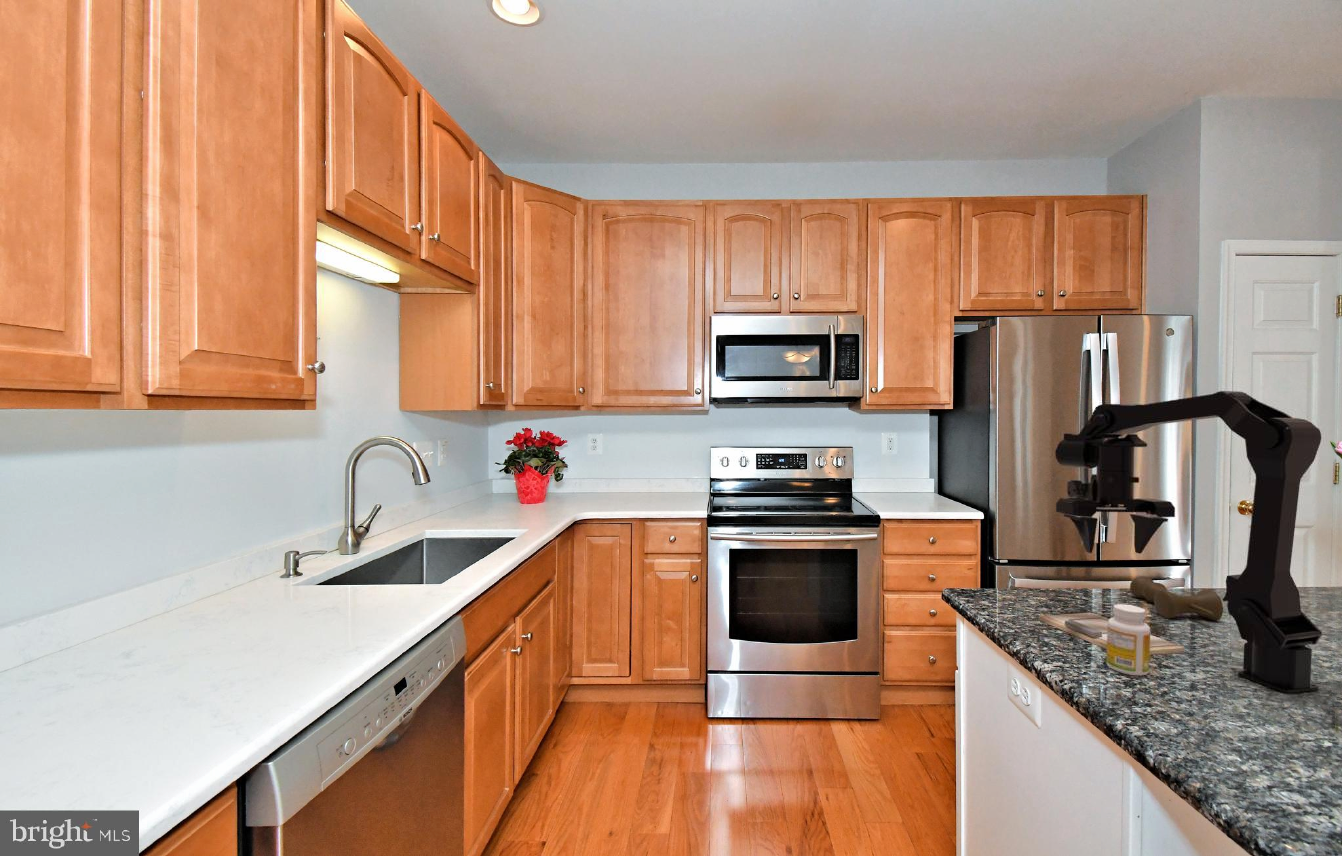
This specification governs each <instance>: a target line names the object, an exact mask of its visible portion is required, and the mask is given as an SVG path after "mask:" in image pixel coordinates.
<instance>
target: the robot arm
mask: <svg viewBox="0 0 1342 856" xmlns="http://www.w3.org/2000/svg"><path fill="white" fill-rule="evenodd" d="M1090 416H1091V417H1090V418H1089V420H1088V421H1087V422H1086V424H1085V425H1084V426H1083V428H1082V429H1081V431H1080V432H1079V433H1073V432H1072V433H1069V432H1068V433H1063V439H1062V440H1061V441H1059V443H1058V444H1057V447H1056V449H1055V453H1054V454H1055V458H1056V461H1057V463H1058V464H1059V465H1061V467H1069V468H1070V467H1071V468H1081V469H1082V468H1084V469H1095V468H1096V473H1095V474H1093V473H1092V474H1091V476H1090V482H1088V483H1087V482H1086V483H1085V482H1084V483H1083V482H1082V480H1081V479H1080V480H1079V479H1078V480H1077V479H1076V480H1074V479H1073V480H1069V481H1067V486H1066V492H1067V496H1068V497H1060V498H1059V499H1058V500H1057V502H1056V504H1055V505H1056V506H1055V509H1056V510H1055V512H1056V513H1060V514H1062V515H1063V517H1065V518H1068V519H1070V521H1071V522H1073V525H1074V526H1075V527H1076V529H1077V532H1078V534H1079V536H1080V539H1081V543H1082V545H1083V546H1084V549H1085V552H1086V553H1089V554H1092V553H1093V551H1094V548H1095V547H1094V546H1095V540H1096V531H1097V525H1098V518H1097V517H1093V516H1094V515H1095V514H1096V513H1130V514H1129V516H1130V517H1131V520H1132V522H1133V524H1134V526H1133V527H1134V531H1133V532H1134V533H1133V534H1134V535H1133V536H1134V537H1133V538H1134V541H1133V545H1134V552H1135V554H1139V555H1140V554H1142V553H1143V552H1144V550H1145V548H1146V546H1147V545H1148V544H1149V542H1150V541H1151V539H1152V537H1153V536H1154V535H1155V533H1156V532H1157V531H1158V530H1159V528H1160V527H1161V526H1162V524H1163V523H1165V522H1167V523H1168V521H1169V519H1168V518H1175V517H1176V507H1175V506H1174V505H1173V503H1172V502H1171V501H1168V500H1163V499H1157V498H1134V489H1135V483H1137V484H1139V483H1140V476H1139V477H1138V476H1135V448H1147V447H1148V443H1146V441H1144V440H1143V439H1141V438H1140V437H1139V435H1138V434H1136V433H1139V432H1143V431H1146V430H1148V429H1150V428H1152V427H1156V426H1159V425H1164V424H1165V425H1166V424H1171V423H1174V424H1175V423H1179V422H1181V423H1182V422H1188V421H1190V422H1191V421H1199V420H1207V419H1216V418H1220V419H1221V420H1222V421H1223V422H1224V424H1225V425H1226V426H1227V427H1228V428H1229V429H1230V430H1231V432H1233V433H1235V434H1236V435H1237V436H1239V437H1240V438H1242V439H1244V442H1245V453H1246V459H1247V460H1248V462H1249V464H1250V466H1251V468H1252V470H1253V472H1254V475H1255V476H1254V477H1255V483H1254V492H1253V500H1252V511H1251V520H1250V529H1249V530H1250V531H1249V537H1248V547H1247V557H1246V558H1247V559H1246V565H1245V568H1244V570H1242V571H1241V573H1240V574H1231V575H1227V576H1226V578H1225V587H1226V588H1225V589H1226V590H1225V591H1226V592H1225V595H1224V597H1223V598H1222V602H1226V607H1227V612H1228V615H1230V616H1231V617H1232V618H1233V620H1234V621H1235V623H1236V626H1237V627H1236V628H1237V629H1238V632H1239V636H1240V638H1241V639H1242V640H1244V641H1246V642H1245V643H1243V658H1242V659H1243V661H1242V668H1243V670H1238V671H1237V675H1238V676H1240V677H1243V678H1245V679H1249V680H1250V681H1254V682H1256V683H1258V684H1261V685H1264V686H1265V687H1269V688H1271V689H1274V690H1277V691H1279V692H1282V693H1285V694H1291V693H1301V692H1302V693H1303V692H1313V691H1319V690H1320V689H1319V687H1320V686H1318V685H1316V684H1313V683H1311V681H1312V679H1311V678H1312V676H1311V675H1312V658H1313V657H1312V656H1313V655H1312V654H1313V650H1312V648H1311V647H1307V646H1309V645H1317V644H1318V642H1319V641H1320V639H1321V638H1322V636H1323V632H1322V630H1321V629H1319V628H1318V627H1317V626H1316V625H1315V624H1314V623H1313V622H1312V621H1311V619H1310V618H1308V616H1306V614H1305V613H1304V612H1303V611H1302V606H1301V598H1300V591H1299V589H1298V587H1297V585H1296V582H1295V581H1294V578H1293V577H1292V575H1291V565H1292V555H1293V547H1294V539H1295V530H1296V520H1297V511H1298V502H1299V494H1300V486H1301V485H1300V484H1301V481H1302V478H1303V476H1304V475H1305V474H1306V472H1307V471H1308V469H1310V467H1311V465H1312V464H1314V461H1315V460H1316V456H1317V454H1318V450H1319V448H1320V445H1321V443H1322V433H1321V431H1320V428H1318V427H1317V426H1316V425H1315V424H1314V423H1313V422H1310V421H1309V420H1307V419H1303V418H1300V417H1297V418H1296V417H1293V416H1291V415H1289V414H1287V413H1285V412H1284V411H1282V410H1279V409H1277V408H1275V407H1273V406H1270V405H1268V404H1266V403H1263V402H1260V401H1259V400H1257V399H1256V398H1254V397H1252V396H1251V395H1249V394H1247V393H1246V392H1244V391H1235V390H1234V391H1231V390H1230V391H1229V390H1226V391H1225V390H1220V391H1216V392H1214V393H1210V394H1205V395H1197V396H1196V395H1195V396H1191V397H1190V396H1189V397H1184V398H1178V399H1171V400H1164V401H1157V402H1152V403H1145V404H1134V403H1133V404H1132V403H1131V404H1125V403H1122V404H1121V403H1101V404H1099V405H1097V406H1095V409H1094V410H1093V412H1092V414H1091V415H1090ZM1124 435H1125V436H1124ZM1122 436H1124V437H1122Z"/></svg>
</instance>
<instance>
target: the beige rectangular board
mask: <svg viewBox="0 0 1342 856" xmlns="http://www.w3.org/2000/svg"><path fill="white" fill-rule="evenodd" d="M1109 619H1110V618H1107V617H1104V616H1102V615H1099V614H1096V613H1093V612H1083V613H1082V612H1081V613H1067V614H1065V613H1063V614H1051V615H1050V614H1049V615H1046V614H1045V615H1039V616H1038V621H1040V622H1042V623H1045V624H1047V625H1050V626H1052V627H1054V628H1057V629H1058V630H1060V631H1064V632H1066V633H1068V634H1070V635H1072V636H1075V637H1077V638H1079V639H1082V640H1084V641H1086V642H1089V643H1091V644H1094V645H1096V646H1098V647H1101V648H1103V649H1105V650H1107V626H1108V620H1109ZM1181 653H1185V647H1183V646H1180V645H1178V644H1176V643H1173V642H1171V641H1168V640H1165V639H1163V638H1160V637H1157V636H1155V635H1152V634H1150V656H1154V655H1166V654H1167V655H1169V654H1181Z"/></svg>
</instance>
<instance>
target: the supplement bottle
mask: <svg viewBox="0 0 1342 856" xmlns="http://www.w3.org/2000/svg"><path fill="white" fill-rule="evenodd" d="M1112 613H1113V617H1111V618H1108V619H1109V620H1108V626H1107V649H1106V660H1105V661H1106V665H1107V666H1108V668H1110V669H1111V670H1114V671H1116V672H1118V673H1122V674H1126V675H1129V676H1141V677H1142V676H1146V675H1148V674H1149V673H1150V656H1151V655H1150V635H1151V628H1150V626H1149V625H1148V624H1147V623H1145V622H1144V621H1146V610H1145V609H1144V608H1142V607H1139V606H1137V605H1130V604H1125V603H1124V604H1121V603H1119V604H1114V605H1113V611H1112Z"/></svg>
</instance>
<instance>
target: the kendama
mask: <svg viewBox="0 0 1342 856" xmlns="http://www.w3.org/2000/svg"><path fill="white" fill-rule="evenodd" d="M1129 589H1130V593H1131V594H1132V596H1133V597H1134V598H1136V599H1140V600H1141V599H1142V600H1143V599H1145V600H1147V601H1149V602H1150V603H1153V604H1154V608H1155V611H1156V612H1157V614H1158V615H1159V616H1161V617H1162V616H1163V617H1162V618H1165V619H1167V618H1168V619H1167V620H1171V619H1173V618H1176V617H1177V616H1179V615H1182V614H1195V615H1198V616H1201V617H1202V618H1204V619H1206V620H1210V621H1213V622H1216V621H1217V622H1218V621H1219V620H1221V619H1222V616H1223V613H1224V606H1223V600H1222V599H1221V597H1220V596H1219V594H1217V592H1215V591H1214V590H1212V589H1207V588H1203V589H1201V590H1199V591H1198V592H1197V593H1195V594H1194V595H1179V594H1176V593H1174V592H1171V591H1169V590H1167V587H1166V586H1165V585H1164V584H1162V583H1161V582H1156V581H1155V582H1154V580H1153V579H1152V578H1150V577H1148V576H1144V575H1141V576H1140V575H1139V576H1136V577H1134V578H1133V579H1132V581H1130V586H1129Z"/></svg>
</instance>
